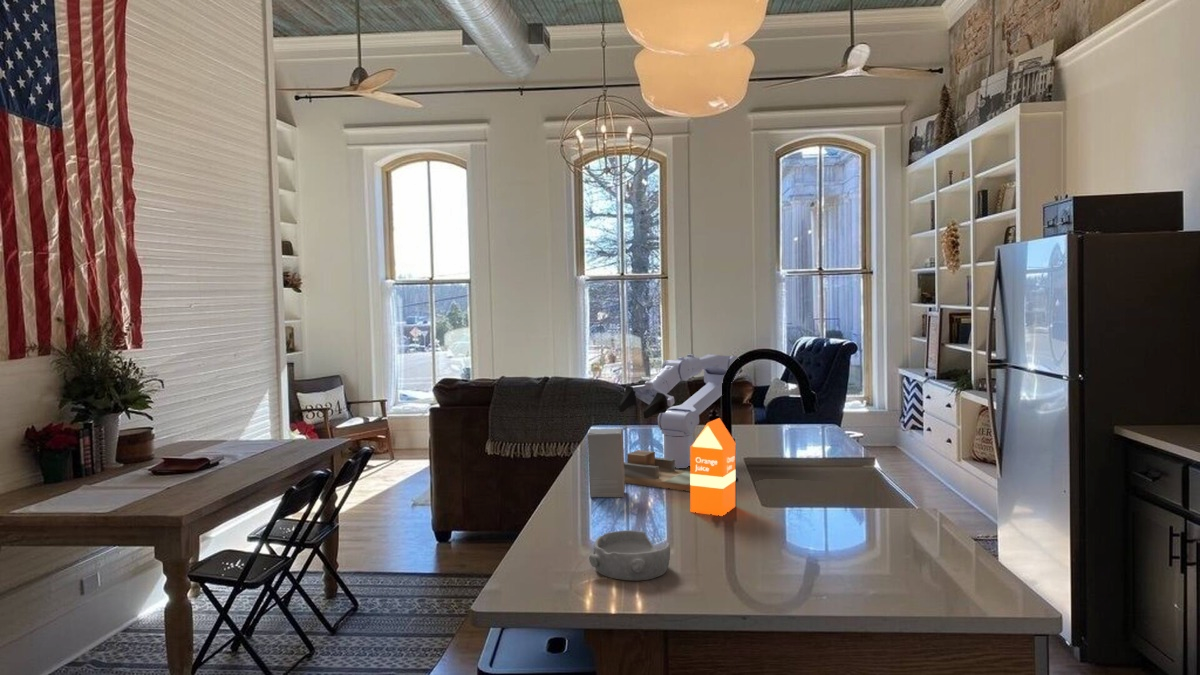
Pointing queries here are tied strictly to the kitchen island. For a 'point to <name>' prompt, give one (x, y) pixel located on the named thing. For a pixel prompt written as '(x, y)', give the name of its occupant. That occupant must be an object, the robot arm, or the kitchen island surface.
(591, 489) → the skincare box
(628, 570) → the dish
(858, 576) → the kitchen island surface
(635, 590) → the kitchen island surface
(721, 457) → the orange juice
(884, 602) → the kitchen island surface
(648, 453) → the walnut block
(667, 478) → the chute board
